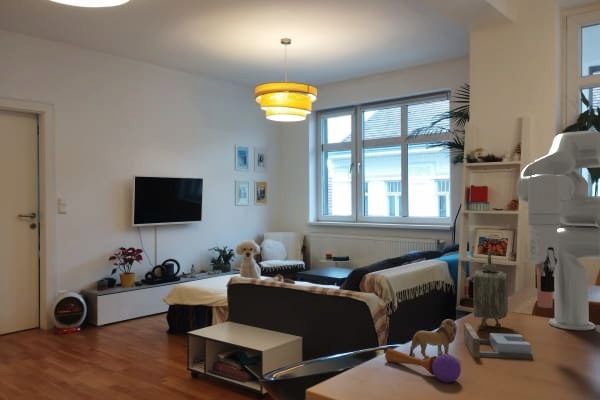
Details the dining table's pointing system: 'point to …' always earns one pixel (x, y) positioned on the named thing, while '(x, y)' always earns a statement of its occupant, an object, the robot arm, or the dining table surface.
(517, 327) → the dining table surface
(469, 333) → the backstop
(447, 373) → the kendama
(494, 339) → the block
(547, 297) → the dowel
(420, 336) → the lion figurine
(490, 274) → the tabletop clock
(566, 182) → the robot arm
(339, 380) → the dining table surface
